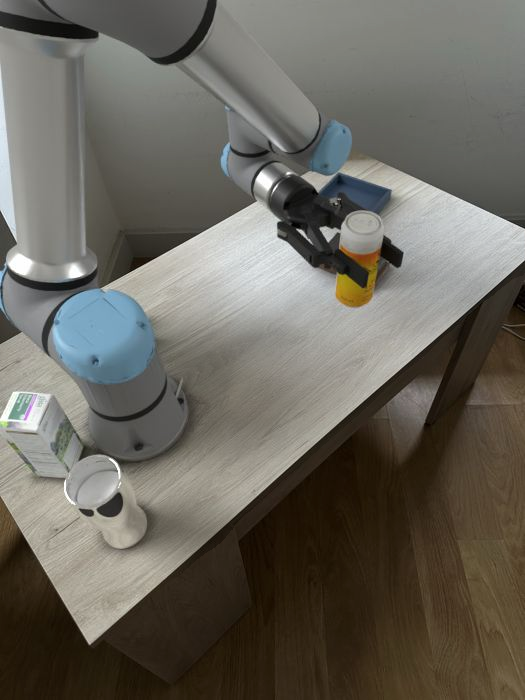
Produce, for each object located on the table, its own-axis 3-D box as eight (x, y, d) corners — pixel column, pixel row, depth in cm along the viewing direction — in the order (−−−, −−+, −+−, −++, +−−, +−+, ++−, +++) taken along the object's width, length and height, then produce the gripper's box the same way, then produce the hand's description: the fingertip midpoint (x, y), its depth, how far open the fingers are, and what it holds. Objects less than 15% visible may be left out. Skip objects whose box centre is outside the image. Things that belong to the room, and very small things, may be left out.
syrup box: (49, 442, 80) (10, 389, 68) (86, 445, 79) (52, 392, 68) (36, 476, 76) (-9, 427, 65) (74, 480, 76) (36, 430, 64)
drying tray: (307, 212, 113) (308, 202, 111) (337, 182, 119) (338, 171, 117) (362, 232, 108) (363, 222, 106) (390, 199, 114) (392, 189, 112)
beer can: (370, 312, 82) (384, 238, 71) (332, 307, 83) (339, 233, 72) (373, 285, 86) (386, 210, 74) (336, 281, 87) (344, 206, 75)
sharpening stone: (317, 267, 102) (318, 249, 98) (334, 247, 105) (336, 229, 102) (372, 290, 97) (375, 272, 94) (389, 268, 101) (392, 250, 97)
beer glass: (130, 492, 74) (100, 441, 62) (161, 525, 71) (135, 478, 59) (89, 527, 71) (50, 481, 60) (119, 563, 68) (84, 522, 56)
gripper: (328, 193, 93) (425, 262, 81) (240, 236, 86) (330, 318, 74) (331, 154, 87) (435, 223, 75) (237, 197, 81) (334, 280, 68)
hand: (383, 270), depth 75 cm, fingers closed on beer can, 6 cm apart
